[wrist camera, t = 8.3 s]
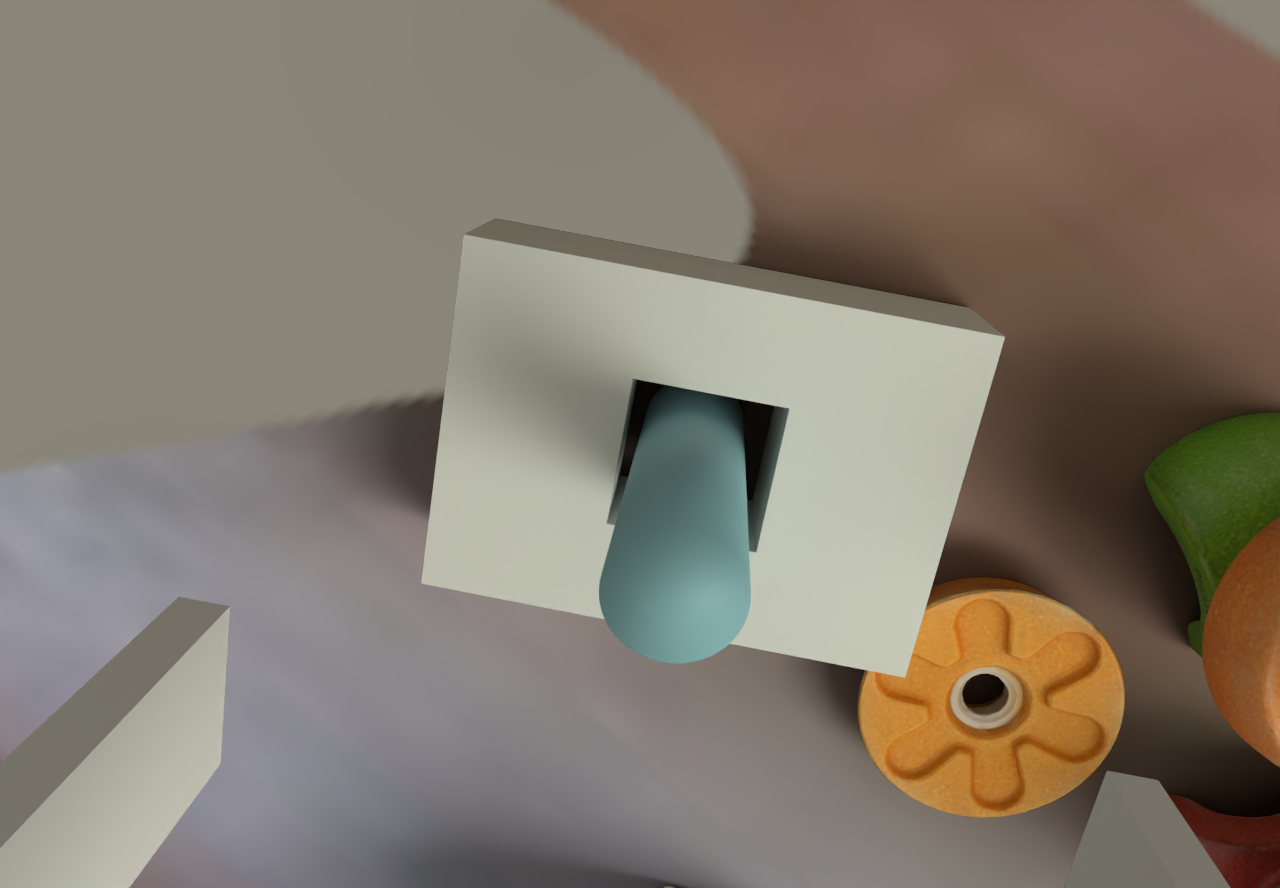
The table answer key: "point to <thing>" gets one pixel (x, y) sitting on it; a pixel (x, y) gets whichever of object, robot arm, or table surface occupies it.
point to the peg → (681, 532)
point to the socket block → (717, 364)
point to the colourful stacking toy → (1099, 661)
